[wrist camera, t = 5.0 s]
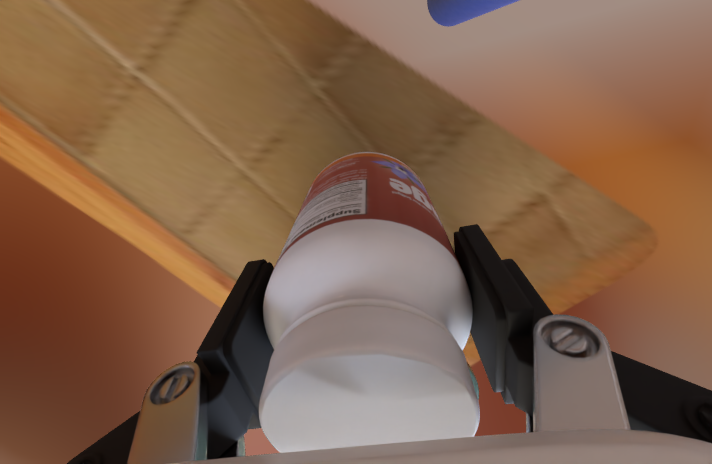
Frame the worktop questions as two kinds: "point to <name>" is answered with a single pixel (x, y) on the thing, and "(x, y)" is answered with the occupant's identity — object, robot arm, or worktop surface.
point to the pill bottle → (367, 317)
